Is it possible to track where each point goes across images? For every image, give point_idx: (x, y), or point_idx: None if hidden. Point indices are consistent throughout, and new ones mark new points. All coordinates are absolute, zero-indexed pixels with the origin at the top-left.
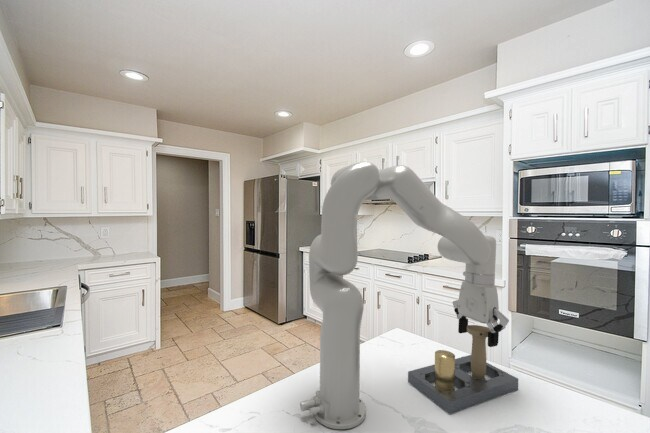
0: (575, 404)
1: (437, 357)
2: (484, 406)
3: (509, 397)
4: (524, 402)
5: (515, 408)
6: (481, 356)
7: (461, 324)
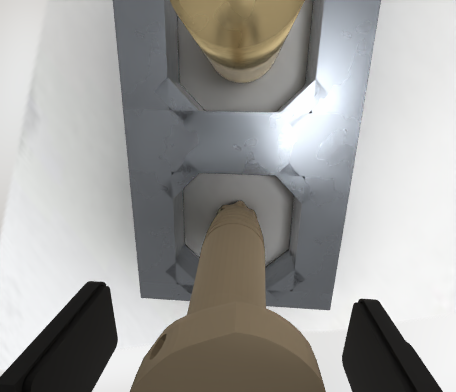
0: None
1: None
2: None
3: None
4: (104, 234)
5: (91, 186)
6: (201, 255)
7: (391, 376)
